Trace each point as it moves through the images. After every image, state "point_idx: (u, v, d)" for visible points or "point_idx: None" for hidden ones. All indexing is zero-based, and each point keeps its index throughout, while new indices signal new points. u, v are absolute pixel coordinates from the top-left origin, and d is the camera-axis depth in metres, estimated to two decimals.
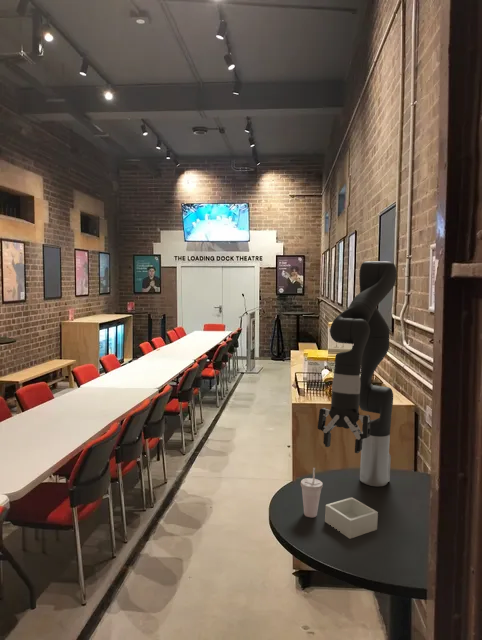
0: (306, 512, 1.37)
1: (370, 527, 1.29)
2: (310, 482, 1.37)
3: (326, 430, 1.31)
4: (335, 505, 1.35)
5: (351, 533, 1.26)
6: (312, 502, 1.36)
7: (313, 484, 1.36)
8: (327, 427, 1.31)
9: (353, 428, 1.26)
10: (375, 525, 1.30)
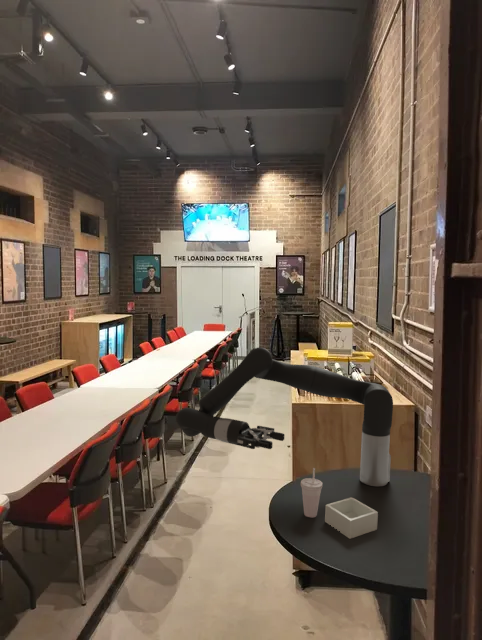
0: (306, 512, 1.37)
1: (370, 527, 1.29)
2: (310, 482, 1.37)
3: None
4: (335, 505, 1.35)
5: (351, 533, 1.26)
6: (312, 502, 1.36)
7: (313, 484, 1.36)
8: None
9: None
10: (375, 525, 1.30)
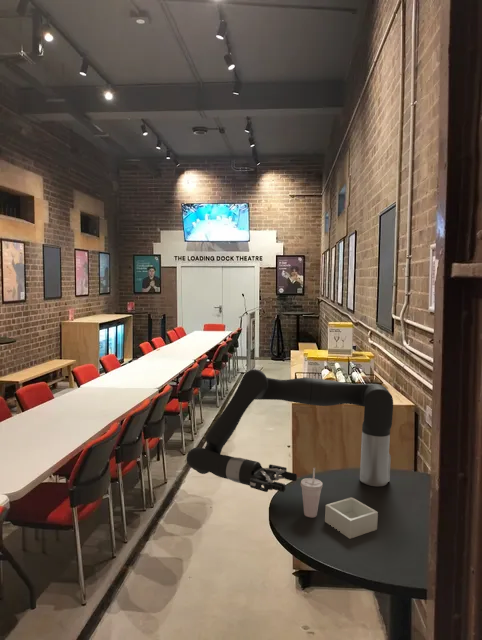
0: (306, 512, 1.37)
1: (370, 527, 1.29)
2: (310, 482, 1.37)
3: None
4: (335, 505, 1.35)
5: (351, 533, 1.26)
6: (312, 502, 1.36)
7: (313, 484, 1.36)
8: None
9: None
10: (375, 525, 1.30)
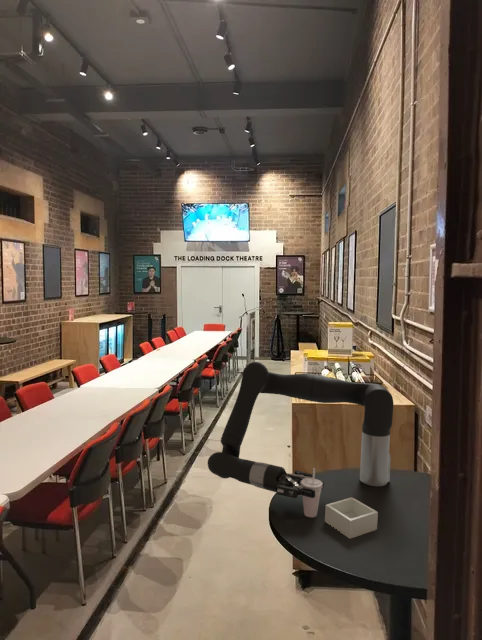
0: (306, 512, 1.37)
1: (370, 527, 1.29)
2: (310, 482, 1.37)
3: None
4: (335, 505, 1.35)
5: (351, 533, 1.26)
6: (312, 502, 1.36)
7: (313, 484, 1.36)
8: None
9: None
10: (375, 525, 1.30)
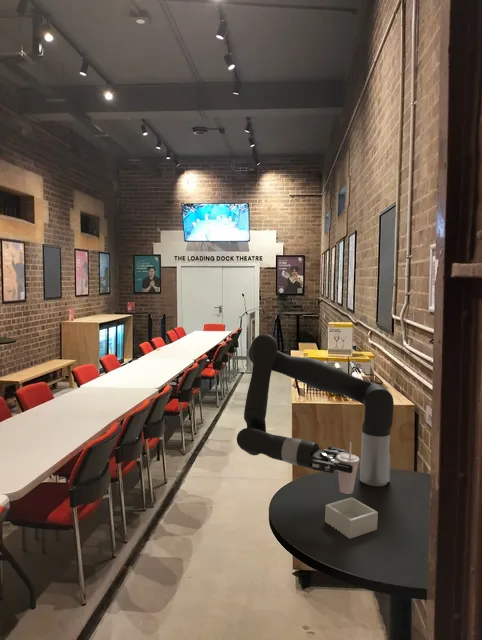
0: (342, 489, 1.31)
1: (370, 527, 1.29)
2: (346, 457, 1.31)
3: None
4: (335, 505, 1.35)
5: (351, 533, 1.26)
6: (349, 478, 1.30)
7: (350, 459, 1.30)
8: None
9: None
10: (375, 525, 1.30)
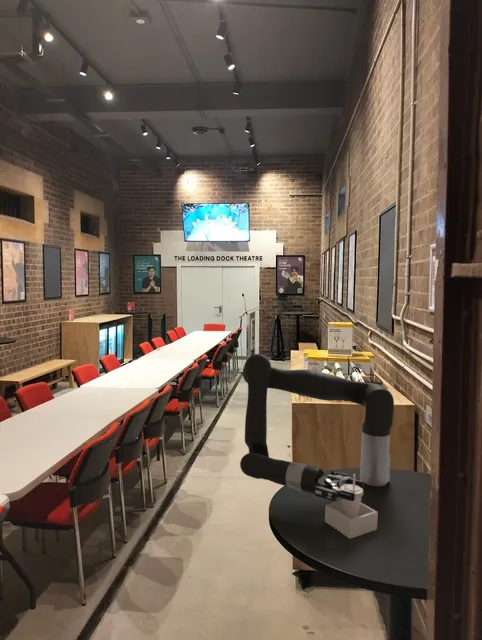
0: None
1: (370, 527, 1.29)
2: (350, 489, 1.31)
3: None
4: (335, 505, 1.35)
5: (351, 533, 1.26)
6: (353, 510, 1.30)
7: (354, 491, 1.30)
8: None
9: None
10: (375, 525, 1.30)
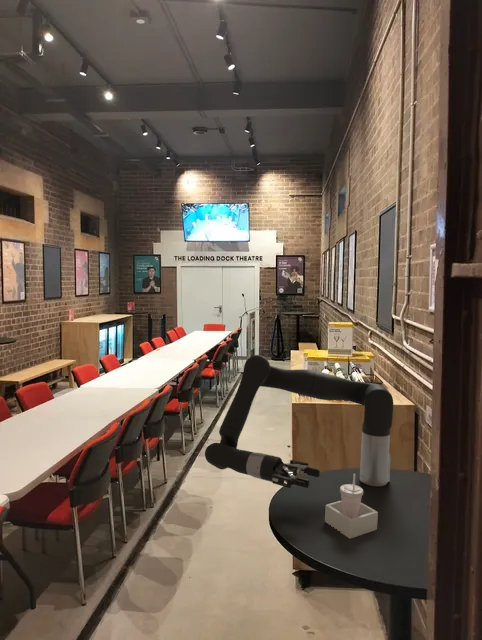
0: None
1: (370, 527, 1.29)
2: (350, 489, 1.31)
3: None
4: (335, 505, 1.35)
5: (351, 533, 1.26)
6: (353, 510, 1.30)
7: (353, 491, 1.30)
8: None
9: None
10: (375, 525, 1.30)
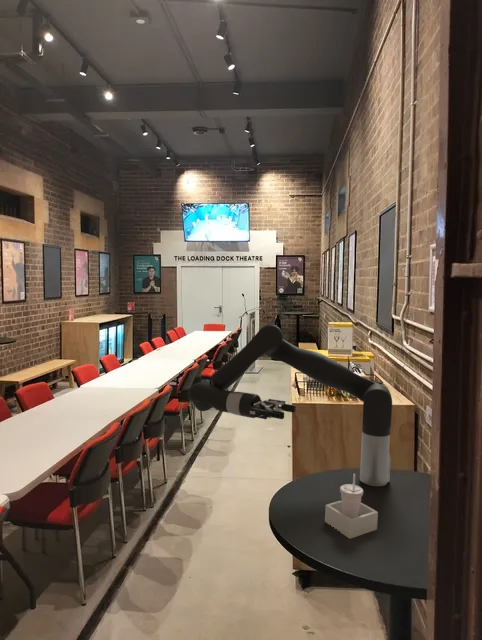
0: None
1: (370, 527, 1.29)
2: (350, 489, 1.31)
3: (281, 410, 1.51)
4: (335, 505, 1.35)
5: (351, 533, 1.26)
6: (353, 510, 1.30)
7: (353, 491, 1.30)
8: None
9: None
10: (375, 525, 1.30)
